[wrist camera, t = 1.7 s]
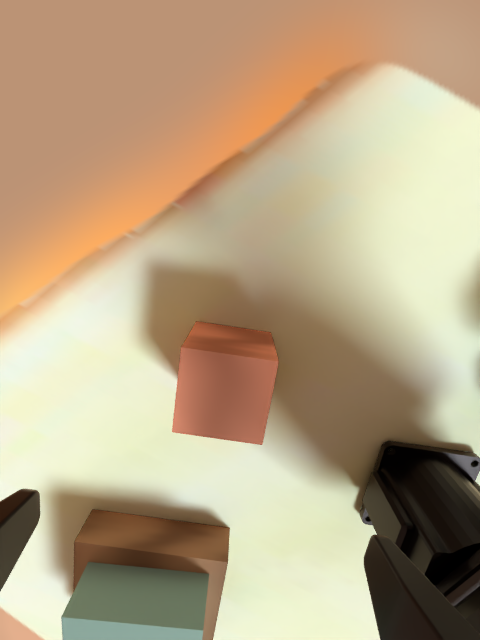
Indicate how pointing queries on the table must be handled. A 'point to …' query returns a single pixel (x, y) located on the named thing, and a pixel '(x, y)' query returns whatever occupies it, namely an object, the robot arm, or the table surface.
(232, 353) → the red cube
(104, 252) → the table surface
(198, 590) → the tower top
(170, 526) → the tower base
